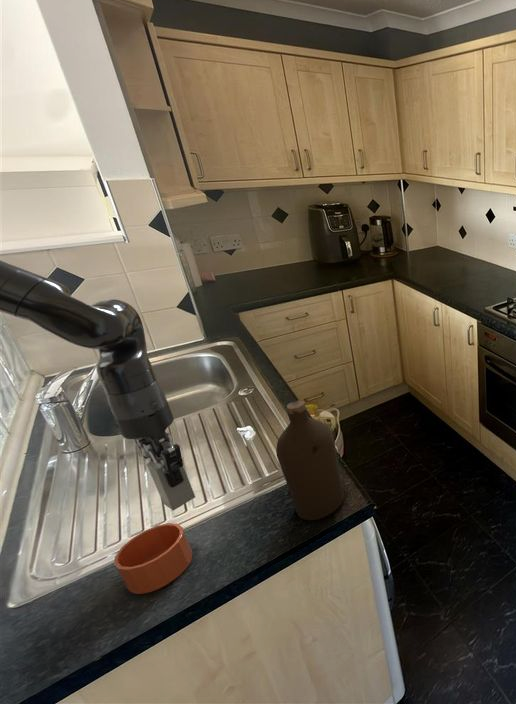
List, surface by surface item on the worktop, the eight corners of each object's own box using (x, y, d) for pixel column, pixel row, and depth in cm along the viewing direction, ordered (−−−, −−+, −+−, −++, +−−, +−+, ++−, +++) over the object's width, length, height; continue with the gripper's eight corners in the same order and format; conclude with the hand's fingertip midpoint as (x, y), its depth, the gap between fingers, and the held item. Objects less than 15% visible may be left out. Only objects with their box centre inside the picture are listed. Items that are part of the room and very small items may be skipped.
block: (173, 510, 80) (155, 470, 76) (163, 504, 82) (146, 463, 78) (195, 497, 83) (180, 457, 80) (185, 490, 85) (170, 451, 82)
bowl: (141, 603, 68) (128, 578, 66) (117, 579, 73) (104, 555, 70) (202, 558, 76) (192, 535, 74) (177, 539, 80) (167, 516, 78)
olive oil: (356, 488, 92) (335, 392, 83) (327, 526, 82) (300, 422, 73) (315, 482, 94) (290, 388, 85) (282, 519, 84) (250, 417, 75)
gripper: (98, 407, 75) (132, 481, 81) (132, 427, 68) (166, 506, 74) (147, 388, 81) (175, 458, 87) (183, 405, 74) (210, 479, 81)
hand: (171, 480), depth 81 cm, fingers closed on block, 4 cm apart
